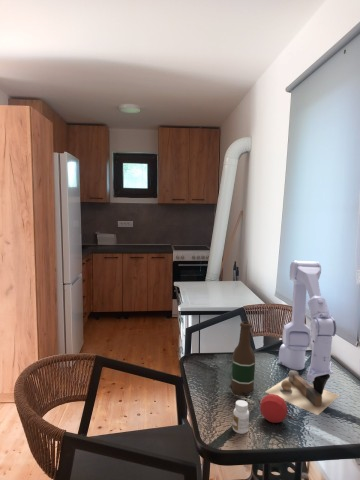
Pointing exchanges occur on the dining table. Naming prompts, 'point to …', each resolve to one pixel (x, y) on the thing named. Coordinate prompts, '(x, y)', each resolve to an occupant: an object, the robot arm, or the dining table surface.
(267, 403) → the red round piece
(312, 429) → the dining table surface
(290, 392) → the board
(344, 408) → the dining table surface
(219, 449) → the dining table surface
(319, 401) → the lever
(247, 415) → the pill bottle
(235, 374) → the beer bottle
